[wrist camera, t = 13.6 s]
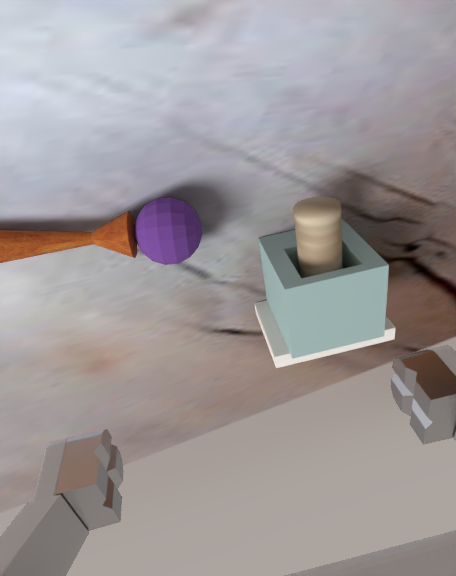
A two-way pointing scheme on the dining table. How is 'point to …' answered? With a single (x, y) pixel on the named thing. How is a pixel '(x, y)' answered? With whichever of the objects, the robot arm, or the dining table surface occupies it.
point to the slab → (284, 358)
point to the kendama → (119, 235)
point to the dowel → (318, 235)
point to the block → (325, 294)
